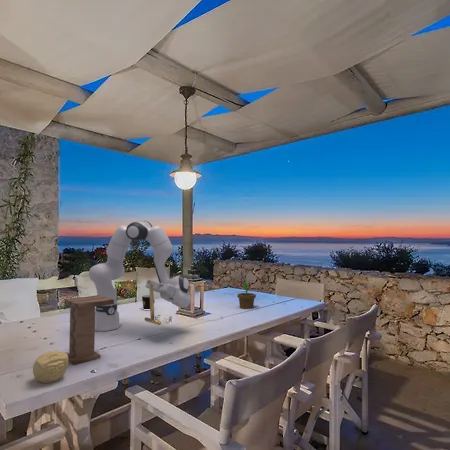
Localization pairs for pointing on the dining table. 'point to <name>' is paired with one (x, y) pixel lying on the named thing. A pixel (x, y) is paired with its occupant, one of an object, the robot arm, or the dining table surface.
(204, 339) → the dining table surface
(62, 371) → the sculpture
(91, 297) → the walnut stand
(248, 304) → the flowerpot
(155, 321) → the brass T-key
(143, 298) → the coffee mug
